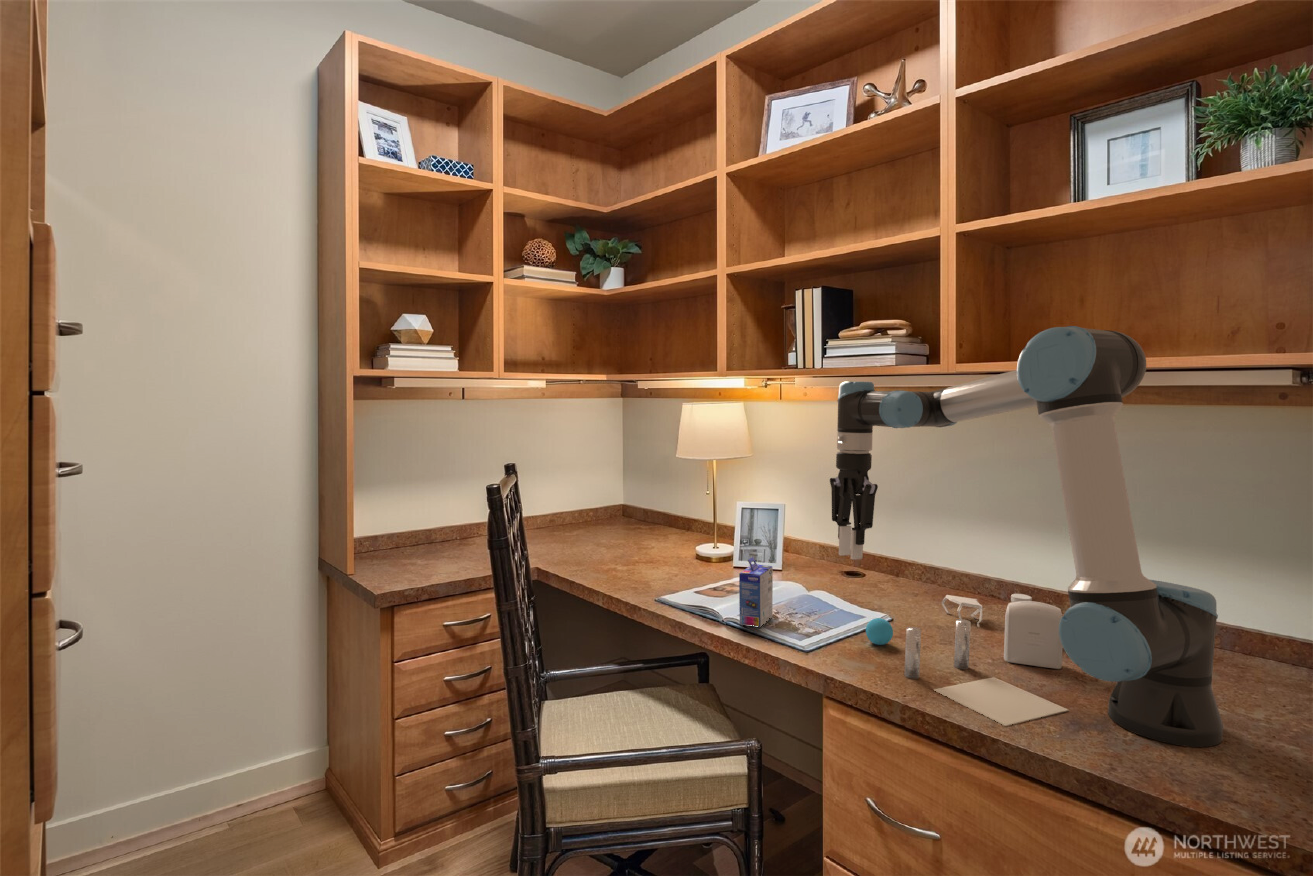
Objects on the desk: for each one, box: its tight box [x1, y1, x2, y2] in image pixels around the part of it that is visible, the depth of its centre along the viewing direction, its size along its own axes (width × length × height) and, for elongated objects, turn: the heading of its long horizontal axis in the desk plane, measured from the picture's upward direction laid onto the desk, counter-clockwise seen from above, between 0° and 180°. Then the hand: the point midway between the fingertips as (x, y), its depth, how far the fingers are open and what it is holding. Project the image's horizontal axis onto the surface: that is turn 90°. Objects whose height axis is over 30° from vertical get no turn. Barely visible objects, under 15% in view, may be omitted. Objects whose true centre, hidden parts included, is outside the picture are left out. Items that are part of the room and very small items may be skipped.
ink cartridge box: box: [738, 556, 774, 628], centre depth 166 cm, size 10×6×14 cm, turn 155°
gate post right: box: [953, 618, 971, 670], centre depth 140 cm, size 3×3×9 cm
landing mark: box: [933, 676, 1070, 727], centre depth 125 cm, size 15×15×1 cm
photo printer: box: [1003, 601, 1064, 670], centre depth 142 cm, size 10×4×12 cm, turn 66°
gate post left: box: [904, 626, 922, 680], centre depth 135 cm, size 3×3×9 cm
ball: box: [865, 617, 894, 646], centre depth 152 cm, size 6×6×6 cm
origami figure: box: [940, 594, 984, 628], centre depth 170 cm, size 12×8×5 cm
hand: (850, 556), depth 160 cm, fingers open, 3 cm apart
